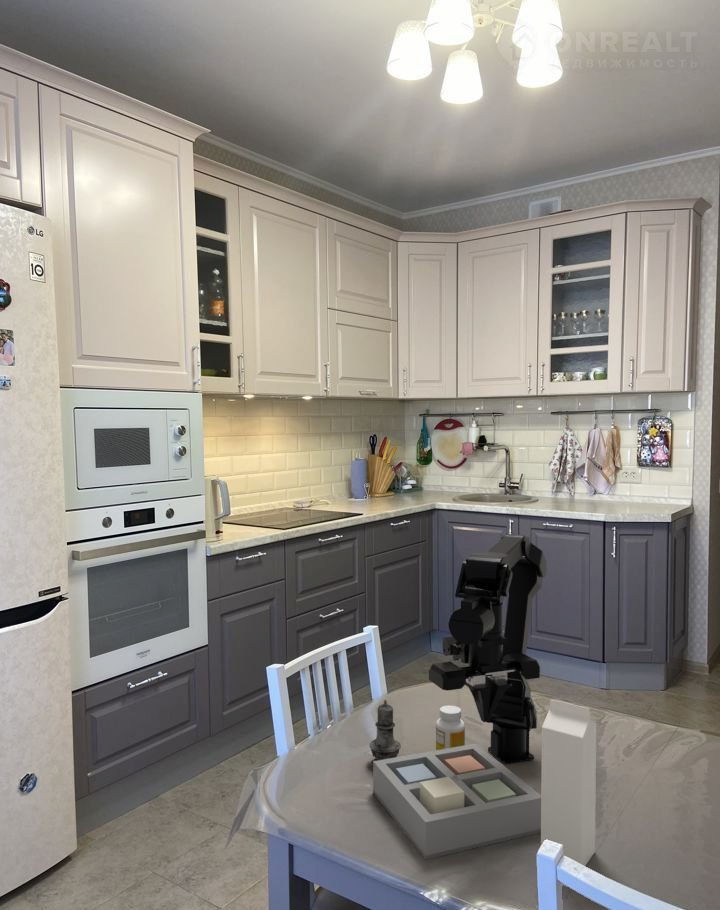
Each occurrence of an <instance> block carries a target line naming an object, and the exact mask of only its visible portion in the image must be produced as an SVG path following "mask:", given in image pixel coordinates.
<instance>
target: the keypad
mask: <svg viewBox="0 0 720 910" xmlns="http://www.w3.org/2000/svg"><path fill="white" fill-rule="evenodd" d="M469 755H470V756H472V757H473V758H474V759H475V760H476V761H478V762H479V763H480V764H481V765H482V766H483V767H485V770H481V771H476V772H470V773H465V774H460V775H455V774H454V773H453V772H452V771H451V770H450V769H449V768H448V767H446V766H445V760H446V759H452V758H457V757H463V756H469ZM418 764H424V765H425V766H426V767H427V768H428V769H429V770H430V771H431V772H432V773H433V774H434V775H435V776H436V779H439V778H444V777H449V778H450V779H452V780H453V781H454V782H455V783H456V784H457V785H458V786H459V787H460V788H461V789H462V790H463V791H464V808H460V809H455V810H450V811H445V812H441V813H436V814H430V813H429V812H428V811H427V810H426V809H425V808H424V806H423V805H422V804H421V803H420V782H418V783H412V784H407V785H404V784H403V783H402V782H401V781H400V779H399V778H398V777H397V776H396V768H401V767H407V766H412V765H418ZM372 774H373V775H372V780H373V781H372V793H373V794H374V796H375V797H376V799H377V800H378V801H379V802H380V804H381V805H382V807H384V809H385V810H386V812H387V813H388V814H389V815H390V816H391V818H392V819H393V820H394V822H395V823H396V824H397V825H398V827H399V828H400V830H402V832H403V833H404V835H405V836H406V837H407V838H408V839H409V840H410V841H409V842H410V843H412V845H413V846H414V848H416V850H417V851H418V852H419V854H420V855H421V856H422V857H423V859H424V860H425V861H427V860H430V859H434V858H439V857H442V856H447V855H452V854H455V853H459V852H460V851H461V852H464V850H465V851H469V850H472V848H474V849H477V848H476V847H478V848H481V847H485V846H484V845H486V846H489V845H488V844H491V845H494V844H493V843H495V844H498V842H499V843H503V842H508V841H511V840H510V839H512V840H515V839H514V838H516V839H519V837H520V838H524V837H523V836H525V837H528V836H533V835H537V834H541V793H539V792H537V791H536V789H535V790H534V788H532V787H531V786H530V785H529V784H527V783H526V782H525V781H524V780H522V779H521V778H520V777H519V776H517V774H515V773H514V772H512V771H511V770H510V769H508V768H507V767H506V766H505V765H504V764H503V763H501V762H500V761H499V760H497V759H496V758H495V756H494V757H493V755H492V754H490V753H488V752H487V751H486V750H485V749H484V748H483V747H481V745H479V744H477V743H471V744H465V746H459V747H453V748H447V749H441V750H436V749H435V750H430V751H424V752H420V753H415V754H408V755H403V756H402V755H401V756H397V757H395V758H389V759H384V760H378V761H373V767H372ZM498 779H499V780H500V781H501V782H502V783H504V784H505V785H506V786H507V787H508V788H510V789H511V790H512V791H513V792H514V793H516V797H512V798H507V799H503V800H498V801H493V802H488V803H485V802H484V801H483V800H482V799H481V798H480V797H479V796H477V795H476V794H475V793H474V792H473V791H472V785H473V784H478V783H483V782H488V781H493V780H498ZM433 780H434V779H433ZM507 840H508V841H507ZM502 841H503V842H502ZM480 846H481V847H480ZM468 849H469V850H468Z"/></svg>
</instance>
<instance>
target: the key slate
mask: <svg viewBox="0 0 720 910" xmlns="http://www.w3.org/2000/svg"><path fill="white" fill-rule="evenodd" d="M396 776H397V777H398V778H399V779H400V781H401V782H402V783H403V784H404V785H407V784H412V783H418V782H423V781H428V780H433V779H436V776H435V775H434V774H433V773H432V772H431V771H430V770H429V769H428V768H427V767H426V766H425V765H424V764H418V765H412V766H407V767H401V768H396Z"/></svg>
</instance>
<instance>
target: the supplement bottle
mask: <svg viewBox="0 0 720 910" xmlns="http://www.w3.org/2000/svg"><path fill="white" fill-rule="evenodd" d="M465 726H466V725H465V723H464V721H463V720H462V709H461V708H460V707H459V706H455V705H443V706H441V707H440V708H439V718H438V719H437V720H436V723H435V751H436V750H441V749H447V748H453V747H459V746H465V745H466V743H465V742H466V741H465V740H466V737H465V736H466V735H465V734H466V733H465V732H466V729H465V728H466V727H465Z"/></svg>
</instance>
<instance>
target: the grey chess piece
mask: <svg viewBox="0 0 720 910" xmlns="http://www.w3.org/2000/svg"><path fill="white" fill-rule="evenodd" d="M375 726H376V738H374V739H373V740H371V741H370V742H369V748H370V751H371V753H372V757H374V758H373V759H372V760H371V762H370V767H372V768H373V761H378V760H384V759H389V758H395V757H398V756H399V752H400V750H401V746H402V744H401V743H400V741H398V740H397V739H395V738H394V728H395V726H396V723H394V708H393V706H392V705H390V704H389V703H388V701H387V700H386V699H384V701H383V703H382V704H380V705H379V706H378V707H377V721H376V723H375Z"/></svg>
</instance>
